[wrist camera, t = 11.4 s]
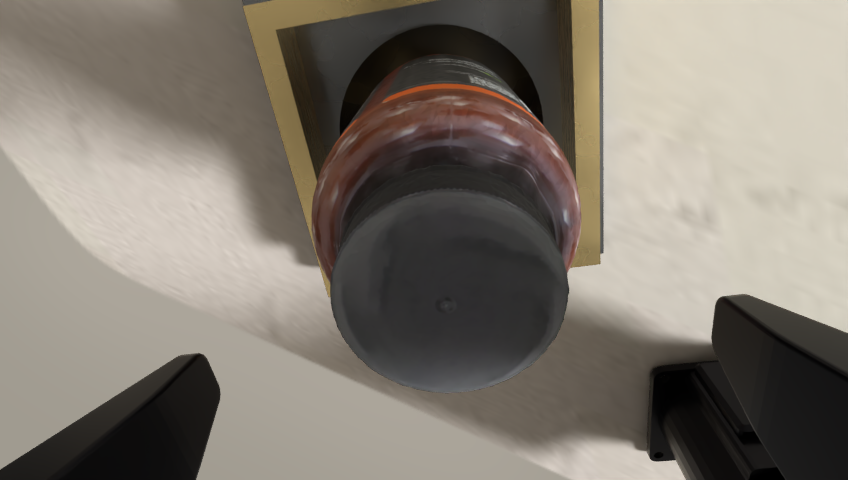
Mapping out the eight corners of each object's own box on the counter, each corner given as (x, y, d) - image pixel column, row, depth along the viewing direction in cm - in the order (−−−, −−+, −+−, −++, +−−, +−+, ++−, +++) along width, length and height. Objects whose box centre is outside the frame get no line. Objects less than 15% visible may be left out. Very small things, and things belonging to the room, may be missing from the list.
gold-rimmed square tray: (592, 236, 22) (619, 277, 18) (334, 269, 23) (316, 313, 20) (588, -77, 16) (624, -96, 13) (254, -12, 18) (212, -16, 14)
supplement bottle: (378, 218, 20) (310, 448, 9) (347, 64, 17) (206, 154, 7) (526, 200, 19) (624, 424, 9) (517, 38, 16) (640, 93, 6)
